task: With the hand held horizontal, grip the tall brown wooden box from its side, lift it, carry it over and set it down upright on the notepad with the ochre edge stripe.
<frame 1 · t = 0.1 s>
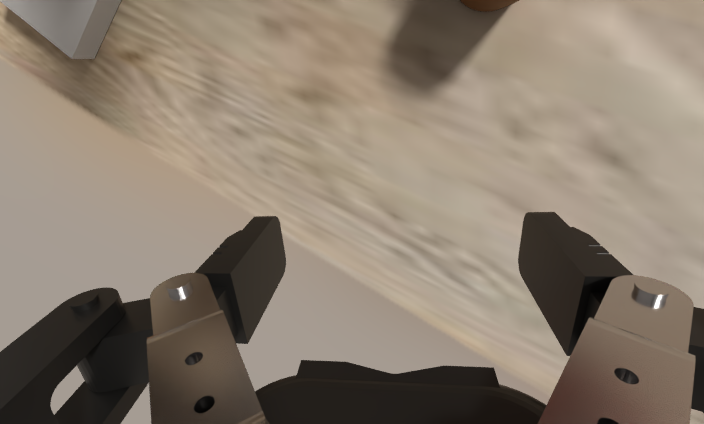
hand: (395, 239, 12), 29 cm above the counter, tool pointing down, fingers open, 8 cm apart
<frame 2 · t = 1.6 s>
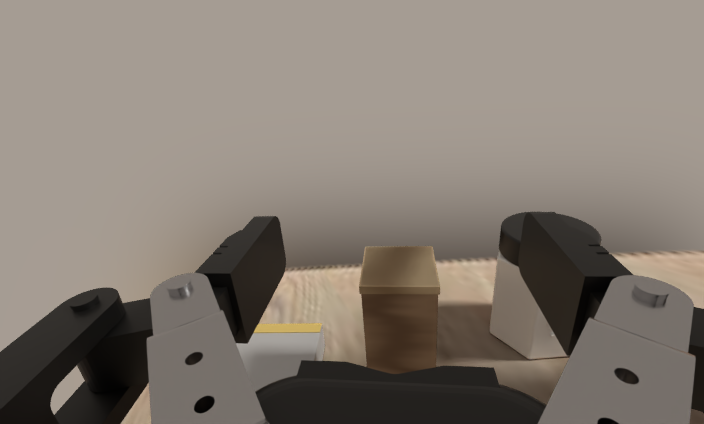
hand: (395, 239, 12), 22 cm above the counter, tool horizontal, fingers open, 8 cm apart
notepad: (265, 385, 33), on the counter
jar: (531, 331, 37), on the counter
tall brown wooden box: (402, 400, 31), on the counter
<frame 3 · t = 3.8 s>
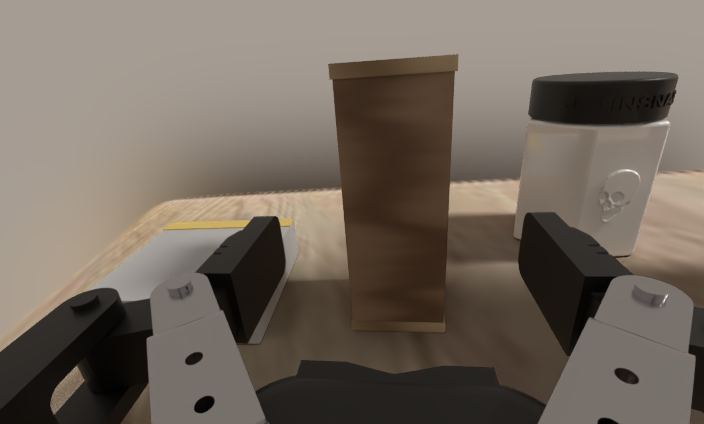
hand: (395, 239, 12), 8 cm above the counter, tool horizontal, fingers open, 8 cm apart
notepad: (213, 290, 24), on the counter
jar: (567, 236, 28), on the counter
tall brown wooden box: (397, 301, 22), on the counter
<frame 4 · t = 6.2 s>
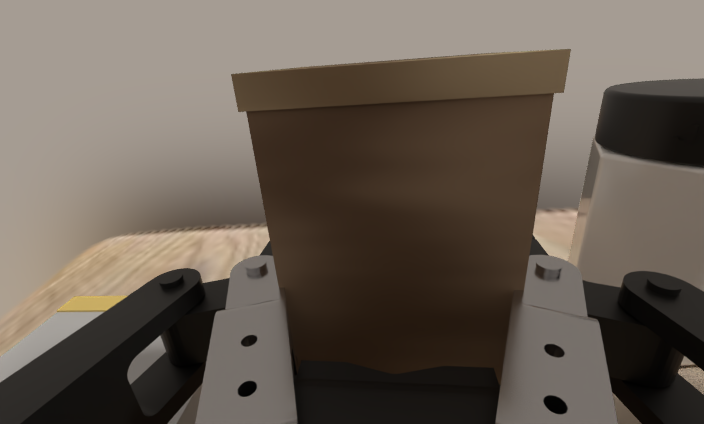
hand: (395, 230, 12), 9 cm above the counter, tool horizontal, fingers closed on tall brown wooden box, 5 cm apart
notepad: (116, 418, 16), on the counter
jar: (644, 313, 20), on the counter
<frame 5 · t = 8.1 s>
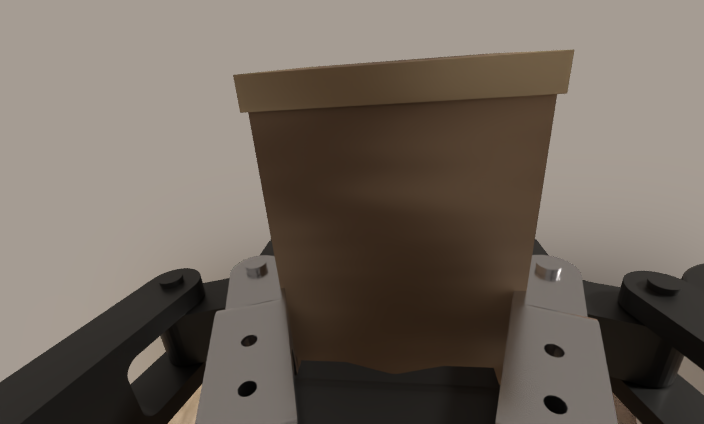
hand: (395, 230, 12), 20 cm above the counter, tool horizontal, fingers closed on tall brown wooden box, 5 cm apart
when the fingers open (13 cm above the counter, at t = 10.3 s): tall brown wooden box drops 1 cm, resting on notepad.
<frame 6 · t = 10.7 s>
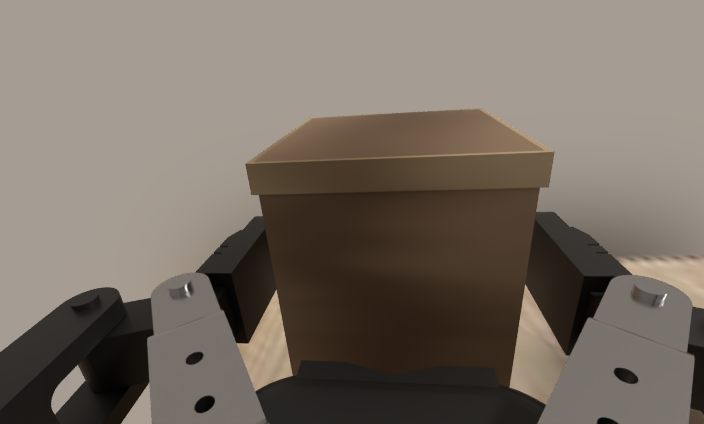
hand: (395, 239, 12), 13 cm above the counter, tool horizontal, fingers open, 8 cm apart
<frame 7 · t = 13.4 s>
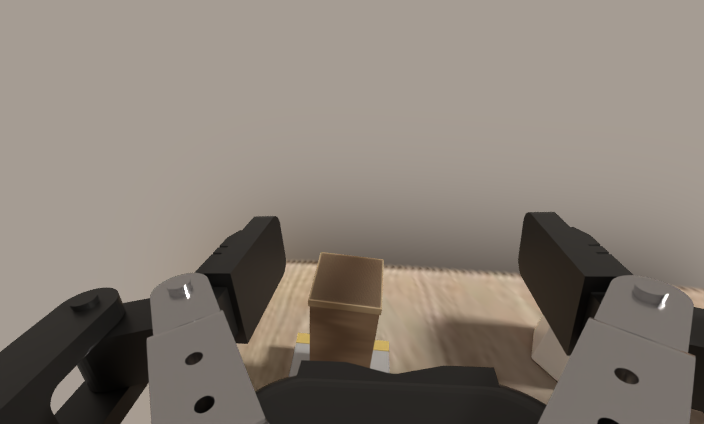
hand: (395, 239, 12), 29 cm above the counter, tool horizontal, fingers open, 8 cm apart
notepad: (337, 396, 36), on the counter
jar: (565, 359, 42), on the counter
tall brown wooden box: (339, 380, 34), point 3 cm above the counter, touching notepad
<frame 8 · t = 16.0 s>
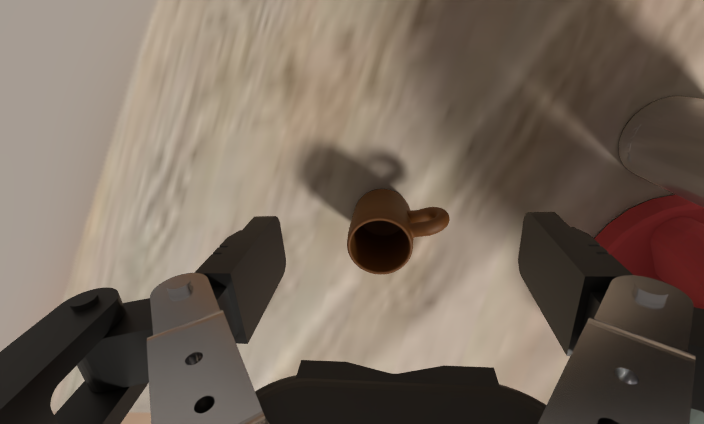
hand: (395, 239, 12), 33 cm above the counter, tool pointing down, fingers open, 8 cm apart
mug: (397, 207, 47), on the counter
stand mixer: (666, 290, 47), on the counter
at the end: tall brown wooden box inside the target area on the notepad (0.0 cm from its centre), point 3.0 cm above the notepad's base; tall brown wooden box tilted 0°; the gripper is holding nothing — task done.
